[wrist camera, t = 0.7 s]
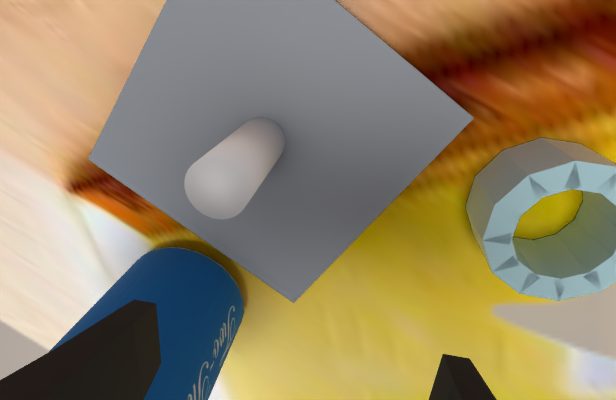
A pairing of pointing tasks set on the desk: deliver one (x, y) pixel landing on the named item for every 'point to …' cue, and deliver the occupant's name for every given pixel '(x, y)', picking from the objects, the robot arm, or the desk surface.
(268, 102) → the post base
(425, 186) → the desk surface
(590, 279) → the flange ring
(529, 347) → the desk surface
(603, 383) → the desk surface
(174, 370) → the beverage can
